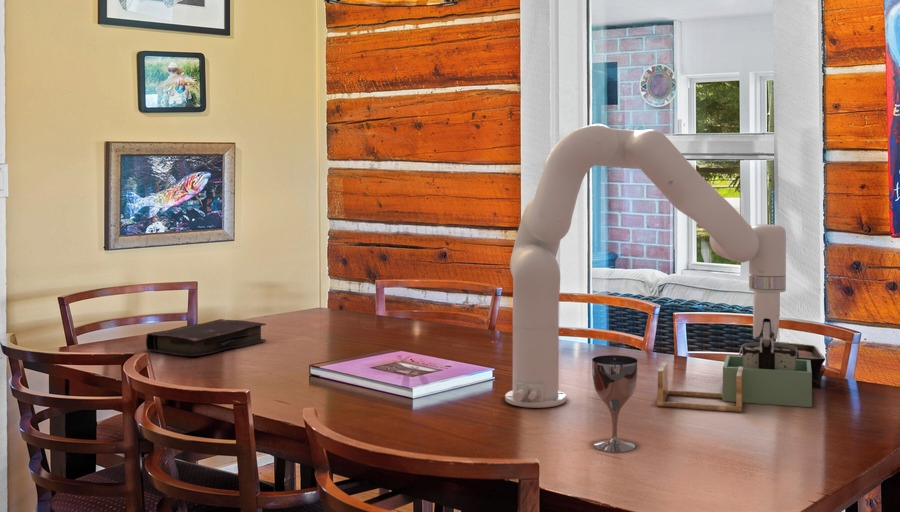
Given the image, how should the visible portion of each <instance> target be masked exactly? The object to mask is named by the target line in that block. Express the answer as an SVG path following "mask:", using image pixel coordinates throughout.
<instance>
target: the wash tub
mask: <svg viewBox="0 0 900 512" xmlns="http://www.w3.org/2000/svg"><path fill="white" fill-rule="evenodd" d="M739 367H743V358H742V355H740V356H739V355H729V354H726V356H725V359H724V362H723V366H722V394H723V398H722V402H731V403H736V376H737V372H738V368H739ZM745 403H746V404H757V405H758V404H759V405H773V406H784V407H785V406H786V407H787V406H788V407H800V408H801V407H803V408H813V384H812V370H811V361H810V360H801V359H796V368H795V371H788V370H772V369H756V368H743V404H745Z"/></svg>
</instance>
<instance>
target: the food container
mask: <svg viewBox="0 0 900 512" xmlns="http://www.w3.org/2000/svg"><path fill="white" fill-rule="evenodd" d="M759 352H760V341H752V342H751V341H750V342H745V343H743V344H741V347H740V348H739V353H738V356H742V358H743V367H744V368H756V369H759ZM774 353H775V370H788V371H795V368H796V359H797V357H799V358H800V355H799V351H798V350H797V347H795V346H792V345H788V344H782V343H774Z"/></svg>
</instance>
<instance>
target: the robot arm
mask: <svg viewBox="0 0 900 512" xmlns="http://www.w3.org/2000/svg"><path fill="white" fill-rule="evenodd" d="M594 166H595V167H596V166H599V167H607V168H608V167H609V168H621V169H632V170H633V169H634V170H637V169H638V170H641V171H642V173H643V174H644V175H645V176H646V177H647V178H648V179H649V180H650V181H651V182H652V183H653V185H654V186H655V187H656V188H657V189H658V190H659V192H660V193H661V194H662V195H663V196H664V198H665V199H667V201H668V202H669V203H670V205H672V206H673V207H674V208H675V209H676V210H677V211H679V212H680V213H682V214H684V215H685V216H687V217H688V218H690V219H691V220H693V221H694V222H695V223H696V224H698V225H699V226H700V227H701V228H702V229H703V230H704V231H705V232H706V233H707V235H709V245H710V248H711V250H712V251H713V252H714V253H715V254H716V255H717V256H719V257H721V258H723V259H726V260H730V261H733V262H735V263H746V262H748V290H749V291H751V292H753V300H752V301H753V303H752V305H753V306H752V308H753V309H752V338H753V339H754V340H757V338H759V342H760V352H759V369H772V370H775V353H774V341H775V340H777V338H778V334H779V325H780V313H781V312H780V310H781V309H780V308H781V293H784V292H786V291H787V232H786V229H785V227H784V226H782V225H779V224H769V223H768V224H767V223H766V224H765V223H763V224H754V225H751V224H749V223H748V222H747V220H745V218H744V216H742V215H741V214H740V213H739V211H737V209H736V208H734V206H733V205H732V204H731V203H730V202H729V201H728V200H727V199H725V198H724V197H723V196H722V195H721V194H720V193H719V192H718V191H717V190H716V189H715V187H713V186H712V185H711V183H709V182H708V180H706V179H705V178H704V177H703V176H702V175H701V174H700V173H699V171H698V170H697V169H696V168H695V167H694V166H693V165H692V164H691V163H690V162H689V160H687V158H686V157H685V156H684V155H683V153H681V151H680V150H679V149H678V148H677V147H676V146H675V144H673V142H672V141H671V140H670V139H669V138H668V137H667V136H666V135H665V134H664V133H662V132H661V131H660V130H656V129H642V130H641V129H640V130H639V129H638V130H637V129H622V128H612V127H610V126H607V125H605V124H602V123H594V124H589V125H586V126H582V127H580V128H577V129H574V130H573V131H571V132H569V133H567V134H566V135H565V136H563V137H562V138H561V139H560V140H559V141H558V142H557V143H556V144H555V145H554V146H553V148H552V149H551V151H550V153H549V154H548V156H547V158H546V161H545V163H544V166H543V169H542V172H541V174H540V178H539V181H538V184H537V188H536V191H535V194H534V198H533V199H532V200H530V201H529V202H528V203H527V204H526V206H525V208H524V211H523V213H522V216H521V219H520V223H519V226H518V230H517V234H516V237H515V241H514V244H513V248H512V252H511V256H510V261H509V270H510V273H511V276H512V284H513V285H512V390H509V391H508V392H506V393H505V394H504V400H505V402H506V403H507V404H509V405H511V406H516V407H521V408H531V409H537V408H538V409H540V408H541V409H543V408H544V409H545V408H551V407H557V406H561V405H563V404H564V403H565V402H566V401H567V394H566V393H564V392H563V391H561V390H559V387H560V386H559V376H560V375H559V373H560V372H559V371H560V370H559V368H560V367H559V365H560V364H559V363H560V362H559V360H560V359H559V358H560V357H559V356H560V355H559V354H560V353H559V352H560V351H559V347H560V345H559V342H560V341H559V340H560V339H559V338H560V334H559V333H560V332H559V331H560V330H559V329H560V328H559V327H560V326H559V316H560V315H559V311H560V309H559V307H560V290H561V269H560V265H559V262H558V260H557V255H558V251H559V249H560V243H561V240H562V239H564V238H565V237H566V235H567V234H568V233H569V231H570V228H571V225H572V220H573V215H574V211H575V207H576V204H577V199H578V196H579V193H580V190H581V186H582V185H583V180H584V179H585V177H586V175H587V174H588V172H589V171H590V170H591V169H592V168H594Z"/></svg>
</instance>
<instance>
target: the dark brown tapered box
mask: <svg viewBox="0 0 900 512" xmlns="http://www.w3.org/2000/svg"><path fill="white" fill-rule="evenodd" d="M774 343H782V344H788V345H792V346H795V347H797V350H798V351H799V355H800V358H799V357H797V359H801V360H810V361H811V370H812V386H813V385H814V386H816V387H818V388H821V385H822V384H821V383H822V379H823V377H824V373H825V371H826V367H825V365H824V362H825V361H826V358H825V355H823V354H822V353H821V352H820V350H819V347H817V346H816V345H813V344H807V343H806V344H805V343H797V342H795V343H794V342H788V341H787V342H786V341H775V340H774Z"/></svg>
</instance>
